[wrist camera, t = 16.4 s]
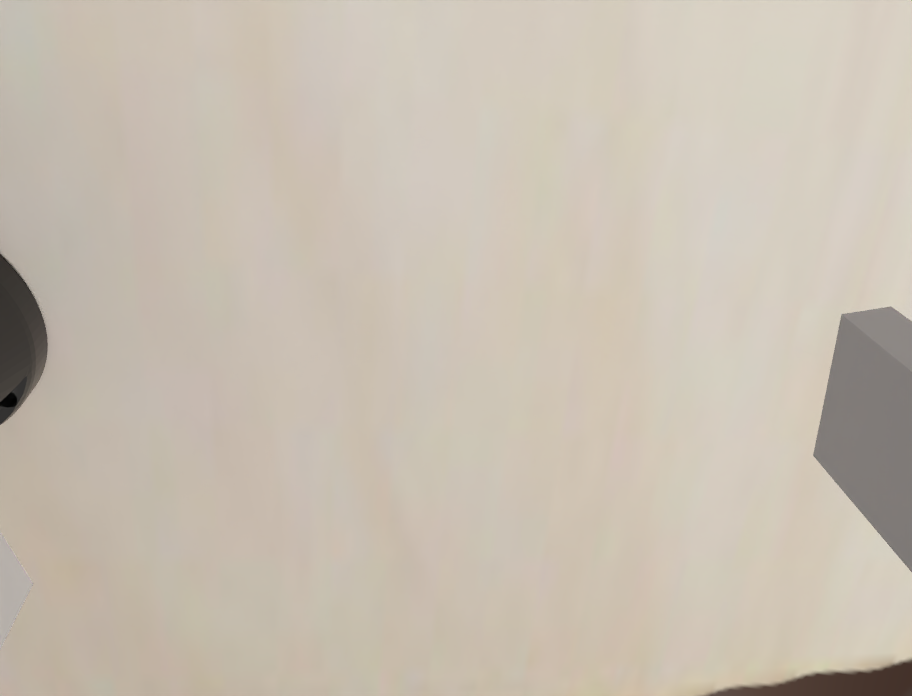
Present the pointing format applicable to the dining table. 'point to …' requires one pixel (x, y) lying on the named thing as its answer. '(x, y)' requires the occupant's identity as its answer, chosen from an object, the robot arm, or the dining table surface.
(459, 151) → the dining table surface
